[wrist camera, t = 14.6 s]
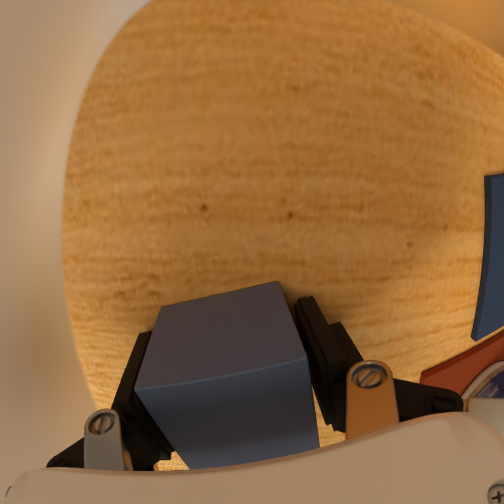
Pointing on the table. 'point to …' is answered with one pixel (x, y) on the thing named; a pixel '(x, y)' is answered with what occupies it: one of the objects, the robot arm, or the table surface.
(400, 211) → the table surface
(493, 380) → the pill bottle
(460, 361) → the rust mat
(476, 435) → the robot arm
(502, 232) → the blue mat
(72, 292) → the table surface
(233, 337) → the blue block
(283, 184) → the table surface
